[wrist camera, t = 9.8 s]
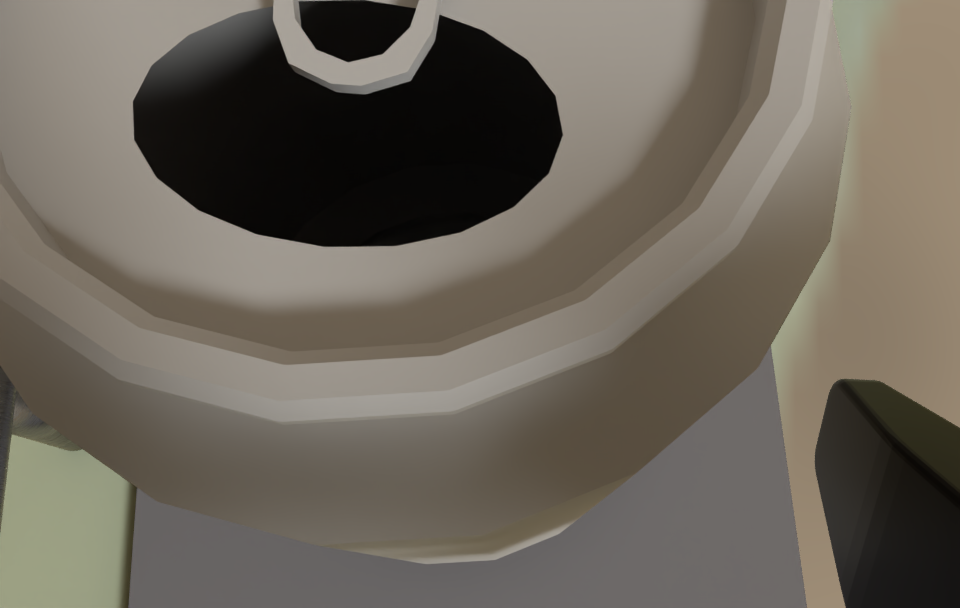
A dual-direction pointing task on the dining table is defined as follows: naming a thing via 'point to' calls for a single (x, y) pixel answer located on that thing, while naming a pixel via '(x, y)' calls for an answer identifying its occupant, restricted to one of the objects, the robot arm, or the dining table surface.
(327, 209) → the can
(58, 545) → the dining table surface
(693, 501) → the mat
